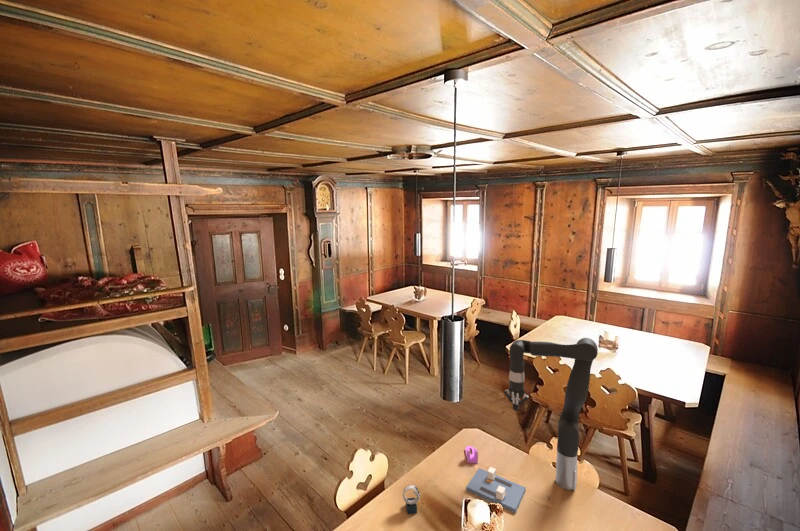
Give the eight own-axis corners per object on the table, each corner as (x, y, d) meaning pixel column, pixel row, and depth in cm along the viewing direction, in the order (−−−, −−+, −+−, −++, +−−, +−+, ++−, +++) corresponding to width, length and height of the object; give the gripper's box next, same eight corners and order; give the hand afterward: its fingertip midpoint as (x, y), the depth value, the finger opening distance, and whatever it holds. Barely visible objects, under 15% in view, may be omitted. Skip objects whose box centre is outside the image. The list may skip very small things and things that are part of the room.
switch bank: (525, 491, 169) (525, 487, 169) (515, 513, 156) (515, 509, 156) (479, 471, 183) (479, 467, 182) (466, 490, 170) (466, 486, 169)
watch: (421, 512, 157) (421, 490, 156) (403, 514, 156) (403, 492, 155) (419, 503, 162) (418, 481, 161) (402, 504, 161) (401, 483, 160)
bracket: (477, 463, 189) (477, 451, 188) (467, 463, 190) (467, 451, 189) (474, 448, 202) (474, 437, 201) (464, 447, 202) (464, 436, 202)
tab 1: (495, 475, 176) (496, 469, 176) (493, 480, 173) (493, 473, 173) (490, 473, 178) (490, 466, 177) (487, 478, 175) (487, 471, 174)
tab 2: (505, 495, 163) (505, 487, 163) (502, 500, 160) (502, 493, 160) (498, 492, 165) (499, 485, 165) (496, 497, 162) (496, 490, 161)
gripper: (531, 379, 180) (530, 410, 182) (506, 373, 188) (505, 403, 190) (527, 384, 174) (526, 417, 176) (501, 378, 182) (501, 409, 184)
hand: (515, 410), depth 183 cm, fingers closed
